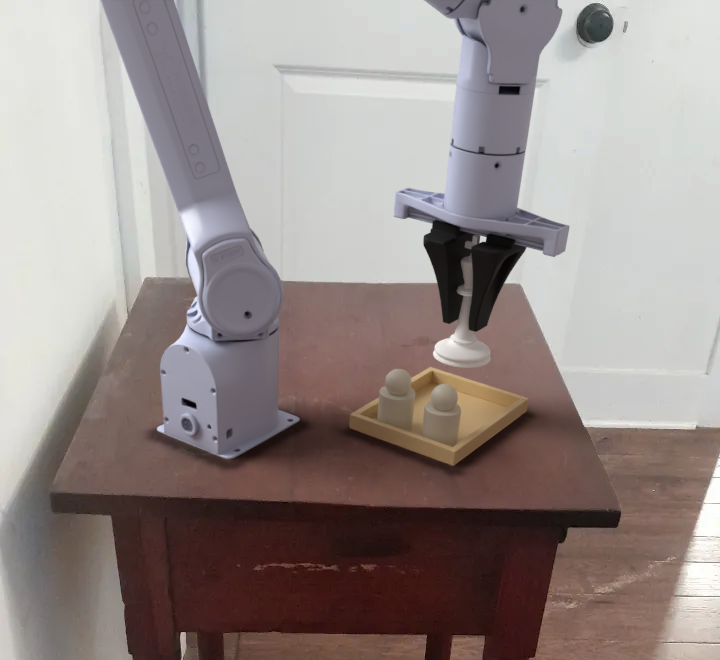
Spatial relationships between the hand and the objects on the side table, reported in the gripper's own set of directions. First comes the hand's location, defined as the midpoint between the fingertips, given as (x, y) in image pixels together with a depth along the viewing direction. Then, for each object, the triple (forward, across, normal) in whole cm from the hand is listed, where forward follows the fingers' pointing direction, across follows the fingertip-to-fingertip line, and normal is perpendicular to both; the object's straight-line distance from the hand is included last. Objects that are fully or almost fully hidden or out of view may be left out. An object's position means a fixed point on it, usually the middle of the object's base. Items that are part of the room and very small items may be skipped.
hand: (465, 324), depth 82 cm
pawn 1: (+8, +2, +6) cm, 10 cm away
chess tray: (+8, 0, +2) cm, 9 cm away
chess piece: (+3, 0, 0) cm, 3 cm away
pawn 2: (+8, -2, +6) cm, 10 cm away
